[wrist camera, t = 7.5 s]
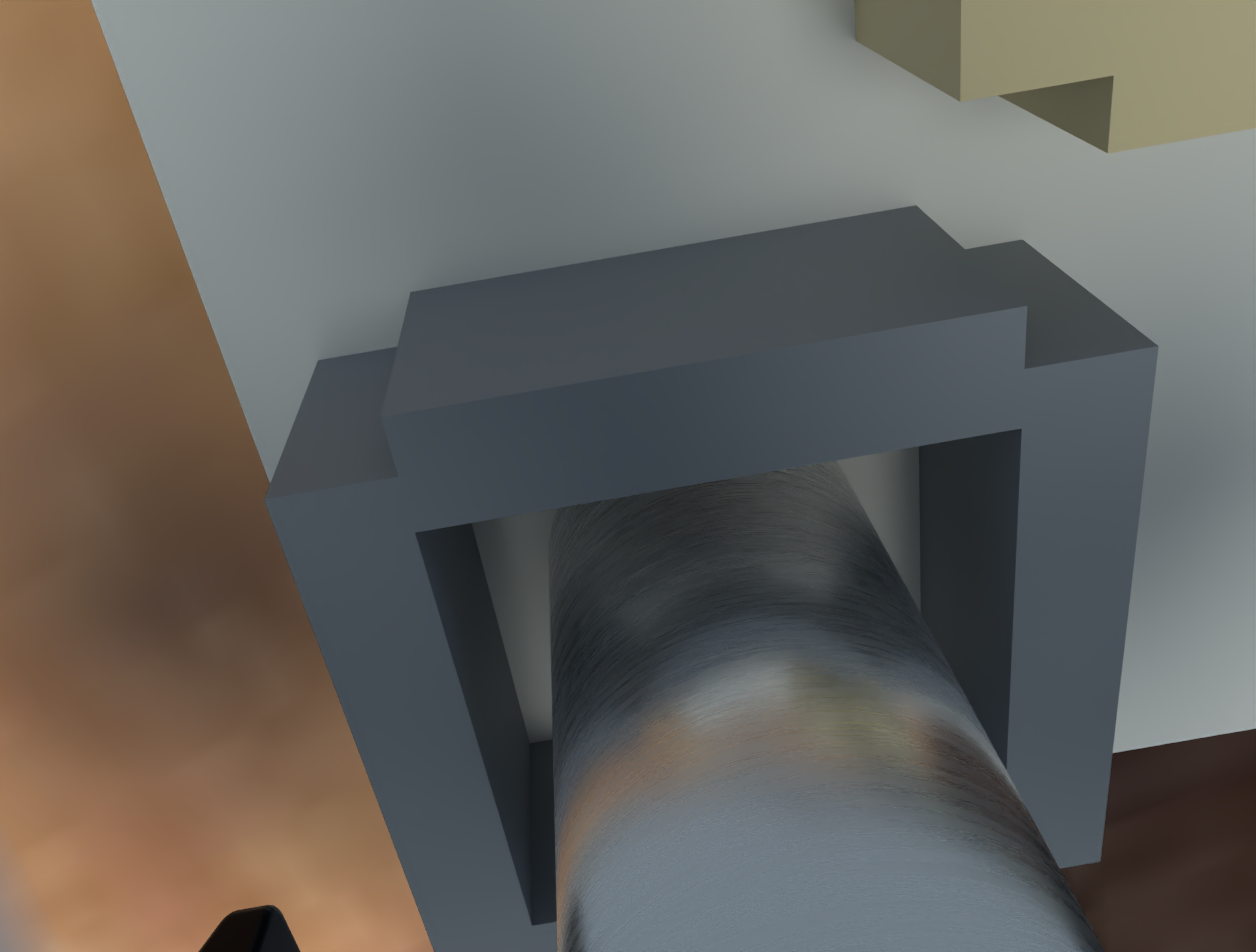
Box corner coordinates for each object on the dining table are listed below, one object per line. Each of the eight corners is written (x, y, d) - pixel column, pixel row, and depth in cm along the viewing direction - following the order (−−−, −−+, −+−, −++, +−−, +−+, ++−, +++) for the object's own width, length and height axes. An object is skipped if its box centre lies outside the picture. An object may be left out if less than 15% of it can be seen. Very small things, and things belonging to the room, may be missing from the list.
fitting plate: (1286, 672, 17) (1476, 878, 14) (419, 822, 17) (394, 1065, 14) (1596, -763, 9) (2243, -1128, 6) (-42, -484, 9) (-383, -682, 6)
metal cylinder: (868, 650, 15) (1258, 1519, 7) (577, 700, 15) (629, 1626, 7) (852, 382, 13) (1362, 1155, 5) (519, 440, 13) (496, 1299, 5)
